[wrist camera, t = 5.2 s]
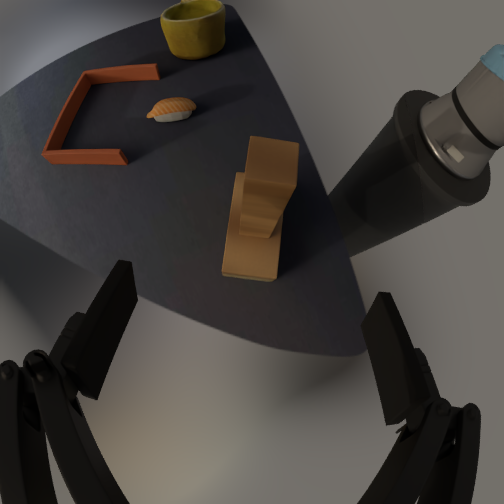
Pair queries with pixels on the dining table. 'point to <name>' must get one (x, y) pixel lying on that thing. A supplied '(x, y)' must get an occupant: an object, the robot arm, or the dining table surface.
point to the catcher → (72, 106)
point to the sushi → (172, 109)
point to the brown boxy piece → (260, 209)
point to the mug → (194, 28)
